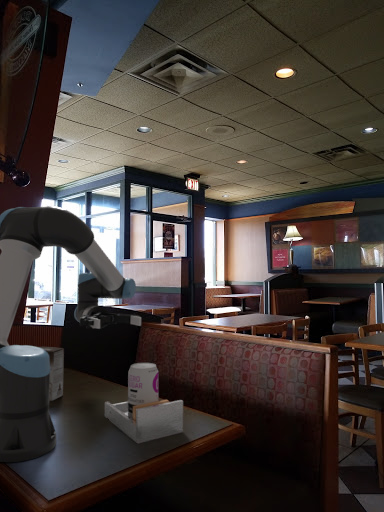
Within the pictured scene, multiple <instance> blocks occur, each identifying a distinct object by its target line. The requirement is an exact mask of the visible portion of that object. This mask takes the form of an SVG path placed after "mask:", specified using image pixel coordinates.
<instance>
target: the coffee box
mask: <svg viewBox="0 0 384 512" xmlns="http://www.w3.org/2000/svg"><path fill="white" fill-rule="evenodd" d="M38 347H39V348H42V349H44V350H45V351H46V352H47V353H48V355H49V361H50V368H51V370H50V388H49V402H50V401H54V400H55V401H56V399H58V398H60V397H62V396H64V394H63V393H64V391H63V390H64V362H65V361H64V357H65V355H64V354H65V348H63V347H53V346H38Z"/></svg>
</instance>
